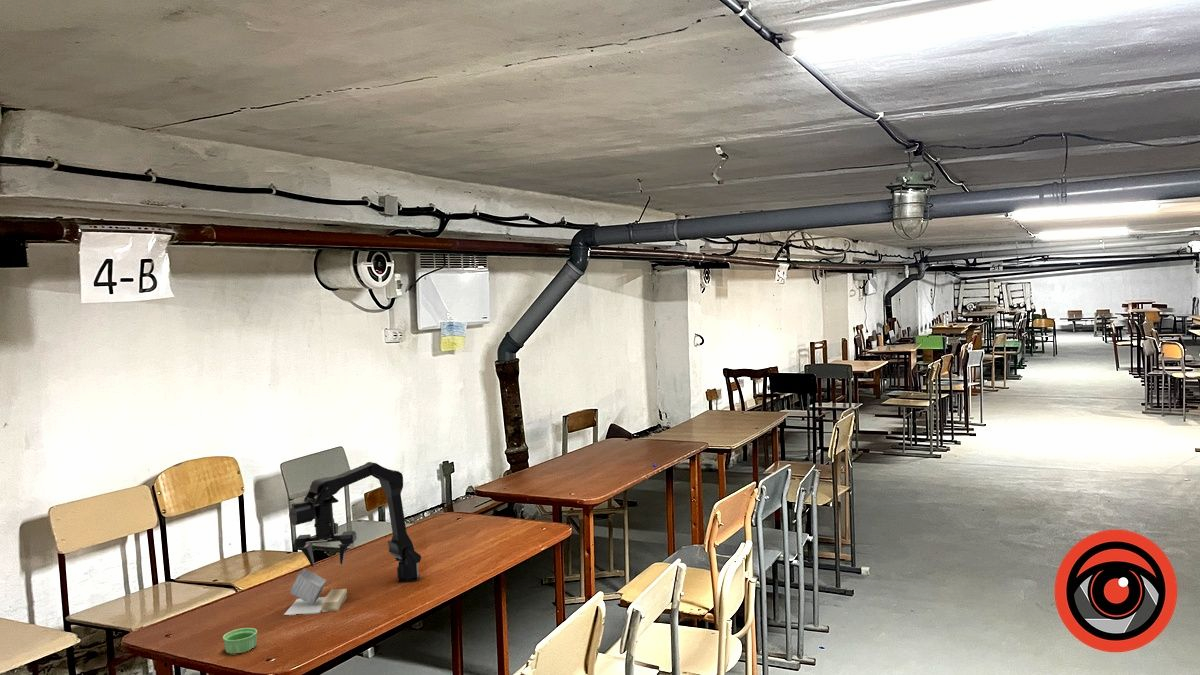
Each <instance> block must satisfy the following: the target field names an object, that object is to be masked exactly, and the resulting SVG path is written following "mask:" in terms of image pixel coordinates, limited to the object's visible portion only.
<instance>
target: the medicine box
mask: <svg viewBox="0 0 1200 675" xmlns="http://www.w3.org/2000/svg"><path fill="white" fill-rule="evenodd" d="M327 582H328V581H327V579H325V578H324V577H321V576H320V575H318V574H316V573H314V572H312V571H311V570H309V569H307V568H305V567H304V568H303V569H301V570H300V571H299V573H298V574H297V575H296V578H295V580H294V583H293V585H291V586H292V587H291V589H290V590H289V593H290V594H291V595H293V596H294V597H297V599H302V600H304V601H305V602H307V603H309V604H311V605H313V604H314V603H315V601H316V600H317V599H318V598H319V597H321V596H320V595H321V594H322V592H323V590H324V587H325V586H326V584H327Z"/></svg>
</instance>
